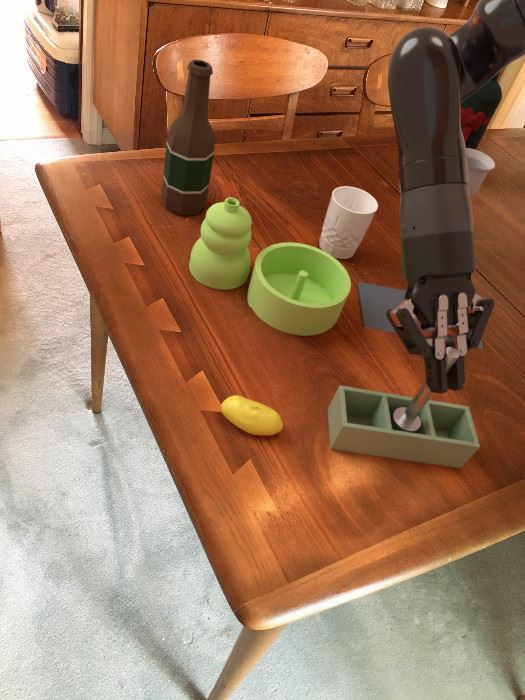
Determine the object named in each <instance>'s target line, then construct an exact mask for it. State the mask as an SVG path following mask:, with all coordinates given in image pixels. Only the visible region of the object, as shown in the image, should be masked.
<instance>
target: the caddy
mask: <svg viewBox="0 0 525 700" xmlns="http://www.w3.org/2000/svg"><path fill="white" fill-rule="evenodd" d="M413 397H414V396H407V395H401V394H395V393H388V392H383V391H378V390H377V391H376V390H371V389H364V388H358V387H353V386H346V385H341V384H340V385H339V386H338V388H337V390H336V392H335V394H334V396H333V398H332V400H331V402H330V403H329V406H328V408H327V415H328V416H327V417H328V418H327V420H328V434H329V449H330V450H334V451H339V452H348V453H355V454H362V455H368V456H374V457H381V458H387V459H388V458H389V459H395V460H402V461H409V462H416V463H422V464H428V465H437V466H442V467H443V466H444V467H449V466H450V468H456V469H461V468H462V467H464V465H466V463H467V462H468V461H469V460H470V459H471V458H472V456H474V455H475V453H476V452H477V451H478V450H479V449H480V448H481V446H480V441H479V437H478V434H477V431H476V428H475V424H474V421H473V420H474V419H473V416H472V413H471V410H470V409H471V408H470V406H468V405H463V404H458V403H457V404H456V403H450V402H444V401H438V400H432V399H429V400H428V402H427V403H426V405H425V406H424V407H423V409H422V410H421V412H420V413H419V415H418V416H419V417H420V420H421V426H420V428H419V429H418V431H417V432H416V433H410V432H404V431H397V430H394V429H393V428H392V426H391V419H390V418H391V416H392V414H393V413H394V411H395V410H396V409H397V408H400V407H406V408H407V406H408V405H409V403H410V402H411V400H412V399H413Z"/></svg>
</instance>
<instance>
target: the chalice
mask: <svg viewBox="0 0 525 700" xmlns="http://www.w3.org/2000/svg"><path fill="white" fill-rule="evenodd" d="M466 155H467V169H468V186H469V193H470V198H472V197H473V196H474V195H475V194H476V193H477V192H479V189H480V187H481V186H482V184H483V182H484V180H485V179H486V177H487V175H488V173H489V172H490V171H491V170H493V169H494V168H495V167H496V162H495V161H494V159H492V158H491V157H490V156H489V155H488V154H486V153H484V152H482V151H481V150H477V149H476V150H475V149H470V148H466Z"/></svg>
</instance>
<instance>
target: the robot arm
mask: <svg viewBox="0 0 525 700" xmlns="http://www.w3.org/2000/svg"><path fill="white" fill-rule="evenodd" d="M522 57H525V0H479V1H478V2H477V3H476V5H475V7H474V9H473V12H472V14H471V15H470V17H469V19H468V20H467V21H466V22H464V23H463V24H462V25H461V26H460V27H458V28H457V29H456V30H454V31H453V32H452V33H450V34H448V33H447V32H445V31H444V30H443V29H442V28H441V29H440V28H438V27H435V26H428V25H427V26H425V25H424V26H419V27H416V28H414V29H412V30H410V31H408V32H407V33H406V34H405V35H403V36H402V37H401V38H400V40H398V42H397V43H396V45H395V46H394V47H393V50H392V52H391V54H390V57H389V60H388V65H387V90H388V97H389V104H390V110H391V115H392V121H393V126H394V127H393V128H394V132H395V136H396V142H397V153H398V156H397V164H398V165H397V166H398V183H399V199H400V200H399V215H398V216H399V232H400V244H401V245H400V246H401V261H402V273H403V274H402V275H403V277H404V279H405V280H406V283H407V285H406V289H405V291H406V292H405V301H403V302H402V303H401V304H400V305H399V306H398V307H397V308H394V309H388V310H387V312H386V316H387V318H388V320H389V322H390V323H391V325H392V326H393V328H394V330H395V331H396V333H395V334H397V336H398V338H399V340H400V341H401V343H402V344H403V346H404V348H405V349H406V351H407V352H408V353H409V355H413V356H417V357H421V358H422V359H423V362H424V373H425V379H426V384H427V387H428V388H429V389H430V391H431V392H434V393H433V394H446V393H447V392H448V390H449V391H454V392H455V391H461V390H463V388H464V384H465V381H466V371H465V369H466V368H465V356H466V355H467V353H468V351H470V350H472V349H478V348H477V347H478V346H479V343H480V341H482V338H483V336H484V333H485V330H486V327H487V325H488V322H489V320H490V317H491V315H492V312H493V309H494V307H495V302H494V299H492V298H483V297H482V296H480V295H479V294H477V293H476V287H475V285H474V283H473V281H472V274H473V273H474V272H476V270H477V268H476V267H477V265H476V247H475V246H476V245H475V230H474V213H473V204H472V199H471V198H472V197H471V198H470V193H469V186H468V169H467V155H466V147H465V141H464V137H463V134H462V130H461V123H460V103H461V102H462V101H463V100H465V99H466V98H468V97H469V96H470V95H472V94H473V93H474V92H475V91H477V90H478V89H479V88H480V87H482V86H483V85H484V84H486V83H487V82H488V81H489V80H491V79H492V78H493V77H494V76H495V75H497V74H498V73H499V72H500V71H501V70H502V71H503V70H504V69H505V68H506V67H508V66H509V65H511V64H512V63H513V62H515V61H517V60H519V59H521V58H522ZM502 71H501V72H502ZM416 317H417V324H416V322H415V321H414V319H416ZM417 325H418V326H417ZM451 325H456V327H452V326H451ZM430 327H433V328H435V329H434V330H431V329H430ZM471 331H472V332H471ZM470 333H471V335H470ZM453 336H454V337H453ZM469 336H470V337H469ZM454 340H455V341H454ZM447 347H453V348H455V349H457V350H458V351H459V354H460V356H459V357H458V359H457V360H456V362H455V363H454V365H453V366H452V367H451V369H450V370H449V372H448V373H447V371H446V360H445V359H443V358H444V355H445V349H446V348H447ZM408 353H407V354H408Z"/></svg>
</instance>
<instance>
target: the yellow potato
mask: <svg viewBox="0 0 525 700" xmlns="http://www.w3.org/2000/svg"><path fill="white" fill-rule="evenodd" d="M220 411H221V414H222V415H223V416H224V417H225V418H226V419H227V420H228V421H229V422H230V423H231V424H232V425H234V426H235V427H237V428H238V429H240V430H242V431H243V432H245V433H247V434H249V435H254V436H273V435H276V434H278V433H280V432H281V431H282V430H283V428H284V424H283V419H282V418H281V416H280V414H279V413H278V412H277V411H276V410H274V409H273V408H271V407H269V406H268V405H265V404H263V403H261V402H258V401H254V400H251V399H249V398H246V397H245V396H241V395H237V394H236V395H234V394H233V395H230V396H228V397H226V398H225V399H224V400H223V402H221V404H220Z"/></svg>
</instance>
